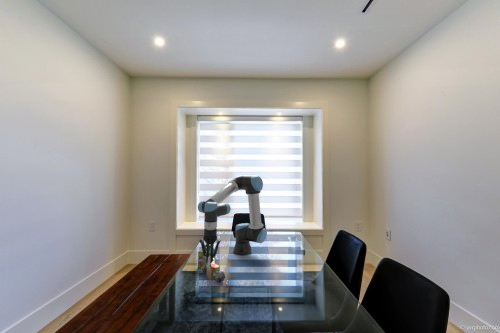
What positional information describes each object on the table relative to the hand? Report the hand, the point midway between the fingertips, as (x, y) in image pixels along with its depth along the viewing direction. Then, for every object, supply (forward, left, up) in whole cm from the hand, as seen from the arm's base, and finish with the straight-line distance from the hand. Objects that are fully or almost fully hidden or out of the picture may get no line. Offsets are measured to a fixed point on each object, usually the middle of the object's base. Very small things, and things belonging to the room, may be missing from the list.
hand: (209, 267), depth 132 cm
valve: (-6, -6, -10) cm, 13 cm away
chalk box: (-10, -22, -10) cm, 26 cm away
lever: (-3, -2, -1) cm, 4 cm away
